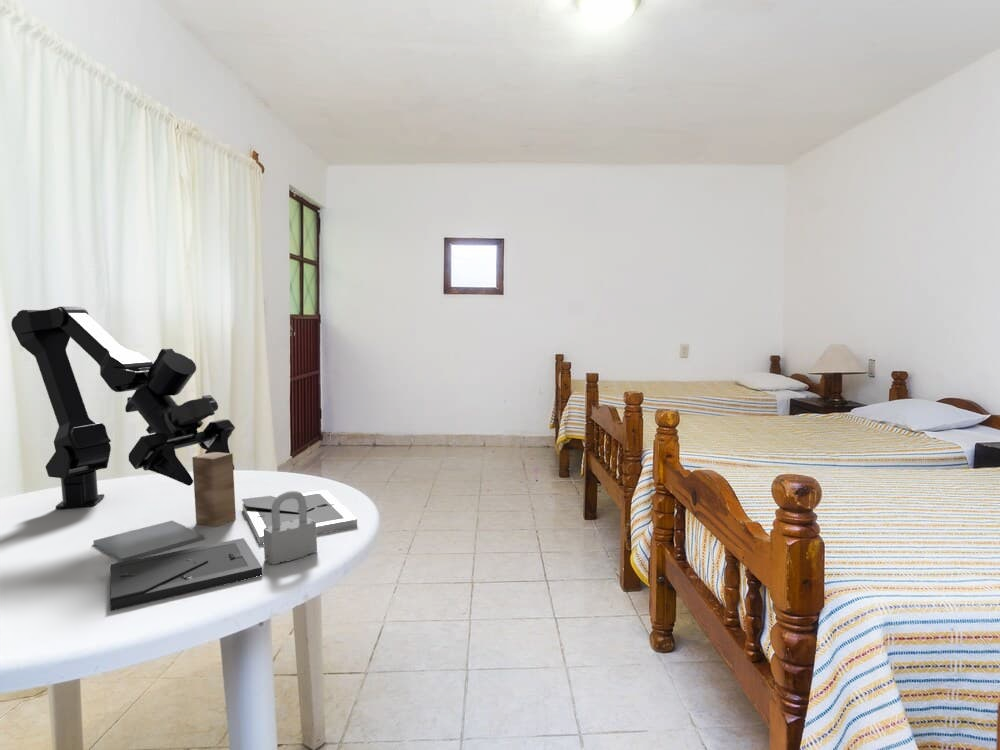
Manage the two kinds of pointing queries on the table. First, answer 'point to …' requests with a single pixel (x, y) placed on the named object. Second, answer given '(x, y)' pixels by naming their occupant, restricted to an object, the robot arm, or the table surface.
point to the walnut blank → (214, 488)
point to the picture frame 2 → (318, 509)
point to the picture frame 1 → (180, 572)
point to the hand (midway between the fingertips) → (212, 477)
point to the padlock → (289, 532)
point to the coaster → (147, 540)
